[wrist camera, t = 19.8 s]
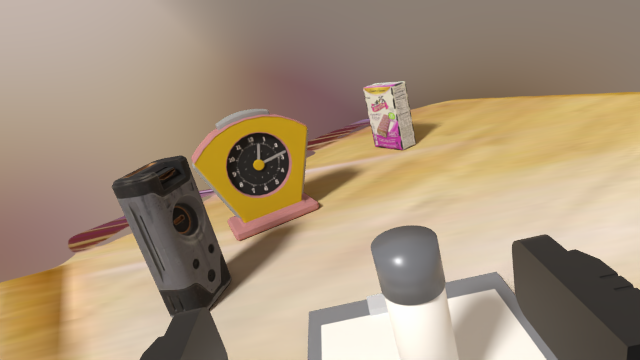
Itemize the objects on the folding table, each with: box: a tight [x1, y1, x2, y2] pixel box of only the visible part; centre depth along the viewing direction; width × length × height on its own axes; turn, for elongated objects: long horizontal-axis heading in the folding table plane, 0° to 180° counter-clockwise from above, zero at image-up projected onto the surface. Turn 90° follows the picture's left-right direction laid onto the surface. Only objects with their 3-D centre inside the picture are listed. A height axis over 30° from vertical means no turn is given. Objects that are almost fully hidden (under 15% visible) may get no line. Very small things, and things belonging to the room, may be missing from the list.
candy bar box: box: [363, 81, 416, 150], centre depth 99 cm, size 11×5×16 cm, turn 33°
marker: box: [371, 226, 459, 360], centre depth 29 cm, size 5×5×14 cm
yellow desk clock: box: [191, 109, 319, 241], centre depth 73 cm, size 22×9×22 cm, turn 114°
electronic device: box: [112, 156, 231, 318], centre depth 52 cm, size 9×6×20 cm, turn 163°
